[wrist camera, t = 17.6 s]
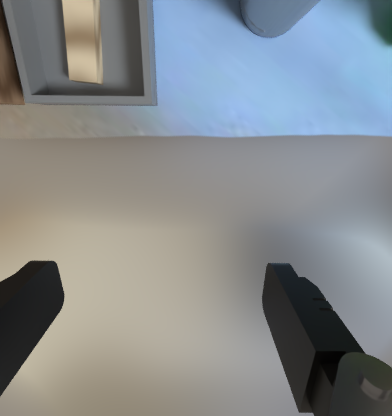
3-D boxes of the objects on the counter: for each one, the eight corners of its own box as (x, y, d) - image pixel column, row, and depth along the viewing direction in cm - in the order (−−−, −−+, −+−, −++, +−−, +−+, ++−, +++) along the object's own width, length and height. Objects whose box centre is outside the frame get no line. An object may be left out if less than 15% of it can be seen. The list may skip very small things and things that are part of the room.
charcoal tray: (13, -62, 31) (-20, -93, 26) (149, -60, 31) (141, -91, 26) (46, 104, 38) (25, 102, 33) (157, 105, 38) (152, 104, 33)
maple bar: (69, -16, 32) (59, -27, 30) (99, -13, 32) (91, -23, 30) (77, 82, 36) (69, 79, 34) (103, 85, 37) (97, 82, 34)
